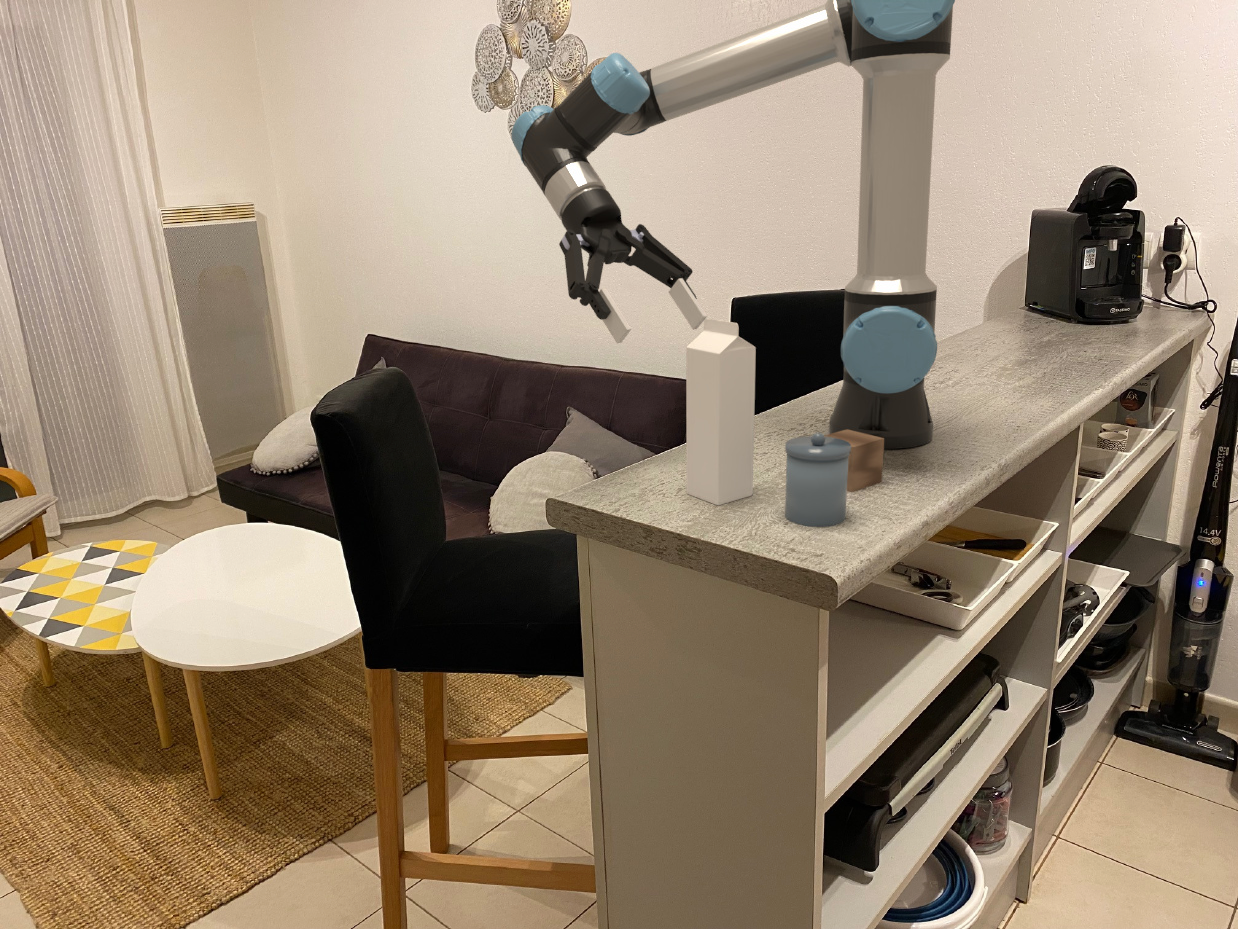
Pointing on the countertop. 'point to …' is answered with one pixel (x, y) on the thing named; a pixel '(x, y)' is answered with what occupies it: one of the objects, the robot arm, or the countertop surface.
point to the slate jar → (816, 480)
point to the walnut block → (862, 459)
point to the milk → (720, 414)
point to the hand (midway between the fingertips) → (663, 329)
